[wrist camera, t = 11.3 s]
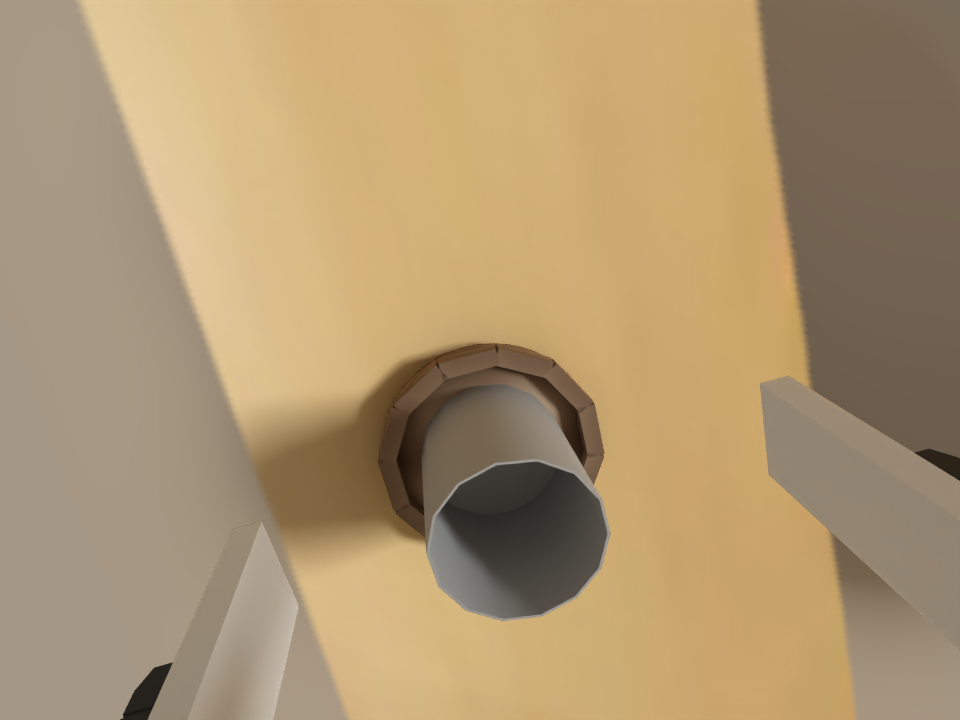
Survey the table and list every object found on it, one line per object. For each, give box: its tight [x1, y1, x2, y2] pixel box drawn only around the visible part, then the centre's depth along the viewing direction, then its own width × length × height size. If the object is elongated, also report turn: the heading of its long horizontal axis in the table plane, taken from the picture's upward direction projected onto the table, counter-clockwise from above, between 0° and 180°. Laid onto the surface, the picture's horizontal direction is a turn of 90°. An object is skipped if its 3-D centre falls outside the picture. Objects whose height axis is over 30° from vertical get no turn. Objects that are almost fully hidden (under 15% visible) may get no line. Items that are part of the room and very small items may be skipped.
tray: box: [378, 344, 604, 538], centre depth 38 cm, size 13×13×2 cm
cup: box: [421, 384, 610, 621], centre depth 33 cm, size 8×8×10 cm
